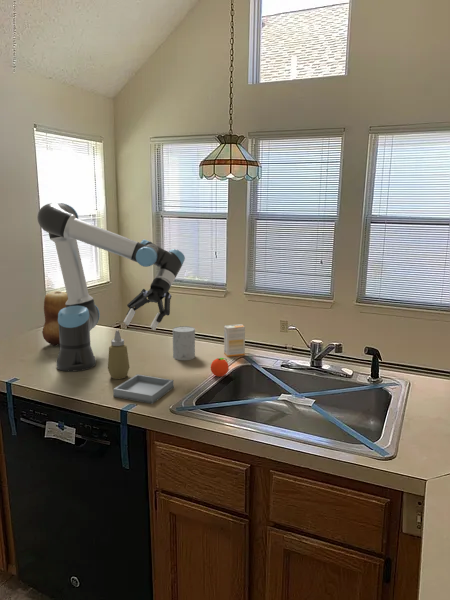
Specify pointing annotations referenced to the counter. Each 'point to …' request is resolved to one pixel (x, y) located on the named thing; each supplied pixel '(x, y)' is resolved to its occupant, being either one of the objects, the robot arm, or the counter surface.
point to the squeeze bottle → (118, 358)
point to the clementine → (219, 367)
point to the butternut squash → (53, 315)
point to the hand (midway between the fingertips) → (138, 326)
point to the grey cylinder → (183, 343)
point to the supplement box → (234, 340)
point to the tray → (143, 388)
